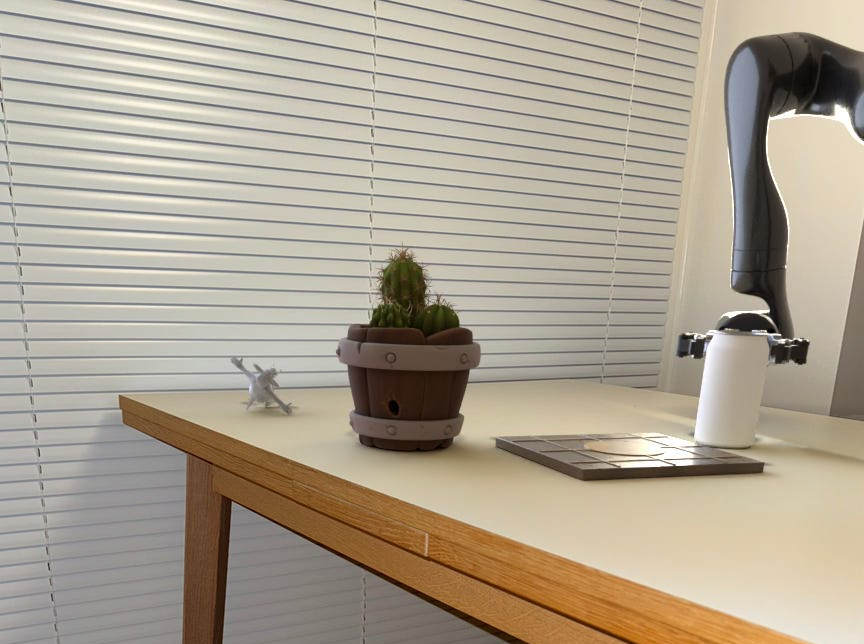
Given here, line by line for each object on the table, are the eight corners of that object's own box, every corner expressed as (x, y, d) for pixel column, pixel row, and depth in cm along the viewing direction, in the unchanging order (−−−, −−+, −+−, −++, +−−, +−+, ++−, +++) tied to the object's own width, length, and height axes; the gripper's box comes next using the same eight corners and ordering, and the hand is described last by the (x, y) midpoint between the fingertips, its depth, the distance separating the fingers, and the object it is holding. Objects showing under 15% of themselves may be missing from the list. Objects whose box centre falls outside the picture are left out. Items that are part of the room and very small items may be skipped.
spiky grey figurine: (307, 408, 126) (308, 391, 117) (276, 441, 126) (274, 427, 117) (250, 355, 125) (246, 334, 116) (219, 388, 125) (212, 370, 116)
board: (654, 441, 109) (656, 431, 108) (763, 472, 93) (765, 461, 93) (494, 446, 102) (495, 435, 102) (582, 480, 86) (583, 468, 86)
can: (763, 445, 109) (782, 333, 104) (738, 451, 104) (757, 335, 100) (709, 437, 113) (725, 330, 108) (682, 443, 108) (698, 331, 104)
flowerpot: (492, 456, 96) (508, 240, 89) (340, 455, 94) (343, 233, 87) (461, 433, 110) (473, 243, 103) (327, 431, 108) (329, 238, 100)
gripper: (691, 309, 121) (676, 312, 107) (814, 314, 116) (814, 318, 102) (683, 371, 123) (667, 381, 109) (802, 378, 119) (801, 391, 104)
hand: (738, 351), depth 106 cm, fingers open, 8 cm apart
